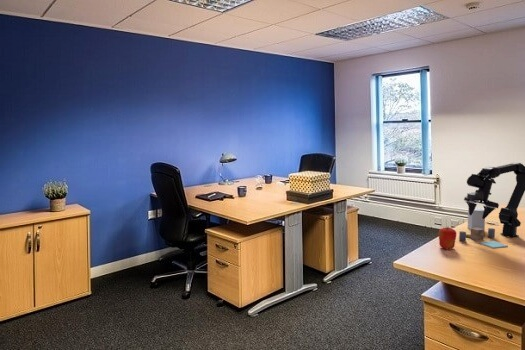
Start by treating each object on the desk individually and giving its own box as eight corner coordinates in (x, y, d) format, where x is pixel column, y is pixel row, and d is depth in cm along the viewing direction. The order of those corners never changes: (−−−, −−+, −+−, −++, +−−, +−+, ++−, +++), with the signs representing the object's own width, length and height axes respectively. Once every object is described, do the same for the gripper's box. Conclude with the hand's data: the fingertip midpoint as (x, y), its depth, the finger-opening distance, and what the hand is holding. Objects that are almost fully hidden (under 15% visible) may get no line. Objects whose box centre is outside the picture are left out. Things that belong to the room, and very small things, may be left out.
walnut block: (477, 237, 212) (477, 227, 211) (483, 240, 207) (484, 229, 207) (470, 238, 211) (470, 228, 210) (476, 240, 206) (477, 230, 206)
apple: (438, 245, 201) (438, 223, 200) (455, 246, 198) (456, 224, 196) (437, 249, 193) (438, 227, 192) (456, 251, 190) (457, 229, 188)
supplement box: (484, 231, 223) (485, 210, 222) (471, 231, 225) (472, 210, 223) (480, 228, 230) (481, 208, 229) (467, 227, 232) (467, 207, 230)
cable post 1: (462, 239, 209) (463, 231, 208) (467, 241, 206) (467, 232, 205) (457, 240, 208) (458, 231, 207) (462, 242, 205) (462, 233, 204)
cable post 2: (491, 236, 213) (491, 228, 212) (495, 238, 210) (496, 229, 209) (486, 237, 212) (486, 228, 212) (491, 238, 209) (491, 229, 209)
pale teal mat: (493, 241, 204) (493, 240, 204) (507, 246, 195) (507, 245, 195) (479, 243, 202) (479, 242, 202) (493, 248, 193) (493, 247, 193)
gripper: (459, 184, 213) (452, 210, 214) (486, 189, 195) (478, 218, 196) (475, 188, 216) (468, 214, 217) (503, 193, 198) (495, 221, 199)
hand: (476, 216), depth 207 cm, fingers open, 9 cm apart
